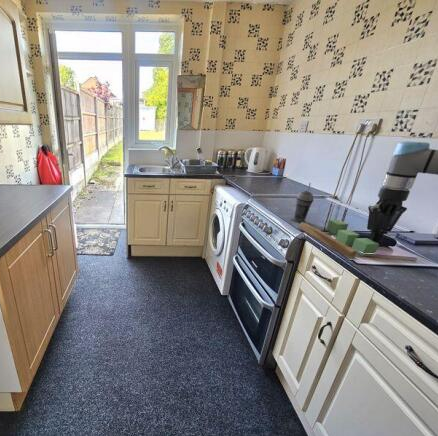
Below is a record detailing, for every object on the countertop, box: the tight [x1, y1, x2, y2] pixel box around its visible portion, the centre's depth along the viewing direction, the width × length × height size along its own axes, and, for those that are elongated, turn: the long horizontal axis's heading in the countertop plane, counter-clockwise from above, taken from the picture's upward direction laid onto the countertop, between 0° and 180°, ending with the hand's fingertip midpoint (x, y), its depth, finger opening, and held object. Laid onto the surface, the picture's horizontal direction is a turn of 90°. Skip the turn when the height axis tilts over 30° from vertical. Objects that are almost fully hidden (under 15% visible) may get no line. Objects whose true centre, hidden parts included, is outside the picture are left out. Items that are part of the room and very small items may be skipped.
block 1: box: [326, 219, 349, 235], centre depth 112 cm, size 5×5×5 cm
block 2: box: [351, 237, 380, 257], centre depth 94 cm, size 5×5×5 cm
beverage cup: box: [293, 182, 314, 224], centre depth 121 cm, size 7×7×20 cm
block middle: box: [335, 229, 360, 247], centre depth 101 cm, size 5×5×5 cm
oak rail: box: [299, 221, 358, 260], centre depth 103 cm, size 2×28×3 cm, turn 5°
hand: (371, 247), depth 94 cm, fingers closed
